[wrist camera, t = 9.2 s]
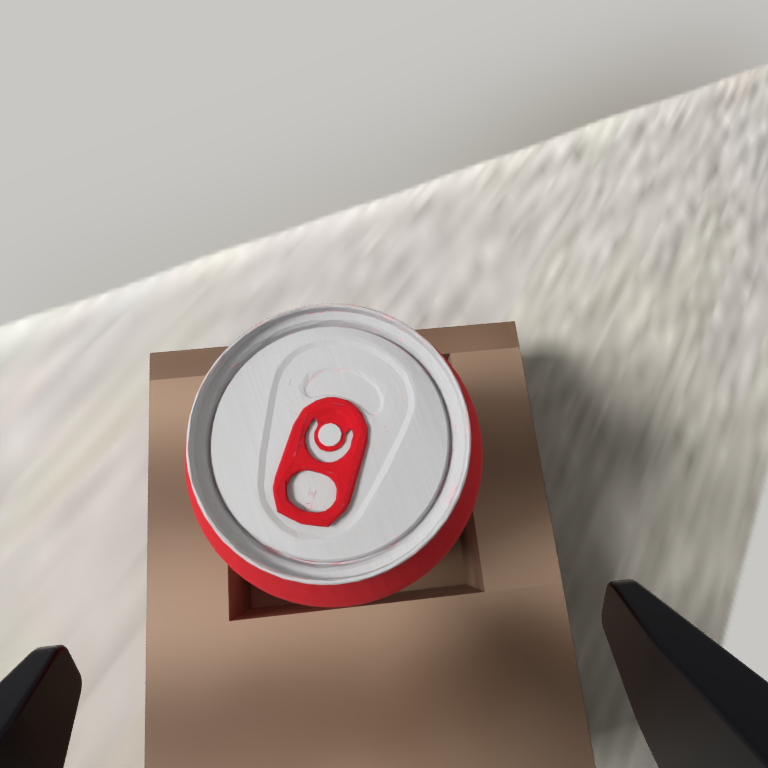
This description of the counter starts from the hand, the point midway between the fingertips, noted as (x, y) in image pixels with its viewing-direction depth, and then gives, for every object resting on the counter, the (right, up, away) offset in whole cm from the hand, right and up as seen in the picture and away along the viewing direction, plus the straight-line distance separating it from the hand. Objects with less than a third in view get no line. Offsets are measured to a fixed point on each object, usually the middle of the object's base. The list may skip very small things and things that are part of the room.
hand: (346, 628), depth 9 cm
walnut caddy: (0, -3, +12) cm, 13 cm away
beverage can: (-1, 0, +12) cm, 12 cm away
